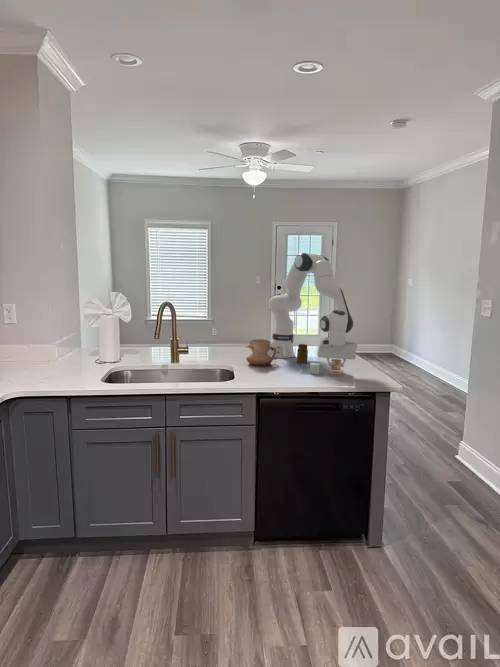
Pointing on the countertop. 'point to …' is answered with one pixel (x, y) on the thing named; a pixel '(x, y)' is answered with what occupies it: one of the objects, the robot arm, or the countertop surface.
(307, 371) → the grey flat slab
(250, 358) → the ceramic jug
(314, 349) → the countertop surface
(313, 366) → the sage block
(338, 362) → the maple block
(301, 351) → the condiment
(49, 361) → the countertop surface
